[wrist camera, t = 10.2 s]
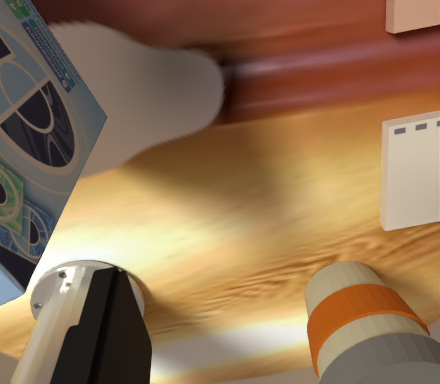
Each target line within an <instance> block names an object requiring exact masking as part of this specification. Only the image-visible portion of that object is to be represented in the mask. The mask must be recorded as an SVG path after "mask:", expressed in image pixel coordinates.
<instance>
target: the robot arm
mask: <svg viewBox="0 0 440 384" xmlns="http://www.w3.org/2000/svg"><path fill="white" fill-rule="evenodd" d="M30 305H31V311H32V314H33V316H34V319H35V320H36V323H35V325H34V327H33V330H32V332H31V334H30V337H29V339H28V342H27V344H26V346H25V349H24V351H23V353H22V356H21V358H20V361H19V363H18V365H17V368H16V370H15V373H14V375H13V377H12V380H11V382H10V384H149V383H150V371H151V358H152V347H151V341H150V338H149V335H148V332H147V329H146V326H145V323H144V321H143V316H144V310H145V300H144V295H143V293H142V291H141V289H140V287H139V285H138V284H137V283H136V282H135V280H134V279H133V278H131V277H130V276H129V275H128V274H127V273H126V271H122V270H120V269H118V268H117V267H114V266H111V265H109V264H105V263H101V262H95V261H73V262H69V263H64V264H61V265H59V266H56V267H54V268H52V269H51V270H49V271H48V272H46V273H45V274H44V275H43V276H42V277H41V278H40V279H39V280H38V282H37V284H36V285H35V287H34V290H33V292H32V295H31V301H30Z"/></svg>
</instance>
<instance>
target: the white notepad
mask: <svg viewBox="0 0 440 384" xmlns="http://www.w3.org/2000/svg"><path fill="white" fill-rule="evenodd" d="M438 221H440V110H439V111H434V112H429V113H424V114H418V115H413V116H408V117H403V118H398V119H392V120H387V121H382V155H381V195H380V224H381V226H382V227H383V228H384V230H385V231H390V230H395V229H400V228H406V227H411V226H416V225H422V224H427V223H433V222H438Z"/></svg>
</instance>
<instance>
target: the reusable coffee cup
mask: <svg viewBox="0 0 440 384" xmlns="http://www.w3.org/2000/svg"><path fill="white" fill-rule="evenodd" d="M305 302H306V308H307V313H308V318H309V320H308V324H307V334H308V339H309V345H310V351H311V357H312V363H313V367H314V370H315V373H316V374H317V376H318V377H319V379H320V383H319V384H440V343H438V342H437V341H435V340H433V339H431V338H430V333H429V331H428V328H427V326H426V325H425V324H424V323H423V322H422V321H421V320H420V318H419V317H418V316H417V315H416V314H415V313H414V312H413V311H412V309H411V308H410V307H409V306H408V305H407V304H406V303H405V301H404V300H403V299H402V298H401V297H400V296H399V295H398V294H397V293H396V292H395V291H393V290H392V289H390V288H388V287H386V285H385V284H384V283H383V282H382V281H381V280H380V279H379V277H378V276H377V275H376V274H375V273H374V272H373V270H372V269H371V268H370V267H368V266H367V265H365V264H362V263H360V262H355V261H342V262H336V263H333V264H330V265H328V266H326V267H324V268H322V269H321V270H319V271H318V272H317V273H316V274H314V275H313V276H312V278H311V279H310V280H309V282H308V284H307V286H306V289H305Z"/></svg>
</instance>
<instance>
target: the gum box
mask: <svg viewBox="0 0 440 384" xmlns="http://www.w3.org/2000/svg"><path fill="white" fill-rule="evenodd" d="M106 119H107V116H106V115H105V113H104V111H103V110H102V109H101V107H100V106H99V104H98V102H97V101H96V99H95V98H94V96H93V95H92V93H91V92H90V90H89V89H88V87H87V86H86V84H85V83H84V81H83V80H82V78H81V76H80V75H79V73H78V72H77V70H76V69H75V67H74V66H73V64H72V63H71V62H70V60H69V58H68V57H67V55H66V54H65V52H64V51H63V49H62V48H61V46H60V44H59V43H58V41H57V40H56V39H55V37H54V35H53V34H52V32H51V31H50V29H49V28H48V26H47V25H46V23H45V22H44V20H43V19H42V17H41V16H40V14H39V12H38V11H37V9H36V8H35V6H34V5H33V3H32V2H31V0H0V306H1V305H3V304H5V303H7V302H9V301H11V300H14V299H16V298H18V297H20V296H21V295H23V294H24V293H25V292H26V289H27V286H28V284H29V281H30V279H31V276H32V274H33V272H34V270H35V268H36V266H37V264H38V263H39V261H40V259H41V257H42V254H43V252H44V250H45V248H46V246H47V244H48V241H49V239H50V237H51V235H52V233H53V231H54V228H55V226H56V224H57V222H58V220H59V218H60V216H61V214H62V211H63V209H64V207H65V205H66V203H67V201H68V199H69V197H70V195H71V193H72V191H73V189H74V186H75V184H76V182H77V180H78V178H79V176H80V174H81V172H82V169H83V167H84V165H85V163H86V161H87V159H88V157H89V155H90V152H91V151H92V148H93V146H94V144H95V142H96V140H97V138H98V136H99V134H100V132H101V130H102V127H103V125H104V123H105V120H106Z"/></svg>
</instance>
